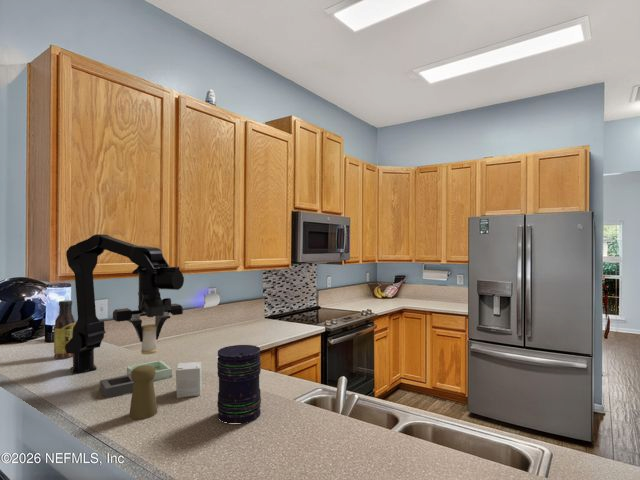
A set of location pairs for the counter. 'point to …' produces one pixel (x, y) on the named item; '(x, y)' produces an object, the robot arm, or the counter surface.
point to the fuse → (149, 339)
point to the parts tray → (159, 366)
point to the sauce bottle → (63, 329)
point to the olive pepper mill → (143, 393)
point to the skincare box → (188, 379)
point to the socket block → (116, 386)
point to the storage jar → (239, 383)
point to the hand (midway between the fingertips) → (148, 340)
